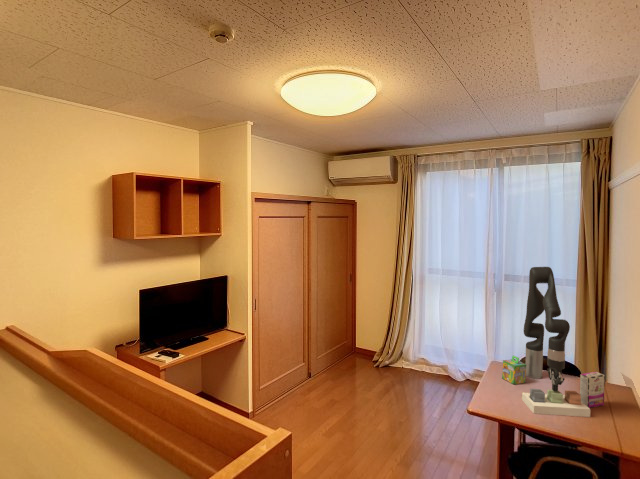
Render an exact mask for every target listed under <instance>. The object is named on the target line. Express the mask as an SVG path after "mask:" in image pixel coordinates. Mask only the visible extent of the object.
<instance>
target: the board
mask: <svg viewBox="0 0 640 479" xmlns="http://www.w3.org/2000/svg"><path fill="white" fill-rule="evenodd" d="M521 400H522V402H523V403H524V404H525V405H526V407H527V408H528V409H529V410H530V411H531V412H532V413H533V414H535V415H550V416H551V415H552V416H565V417H566V416H570V417H582V418H583V417H585V418H591V408H588V407H587V406H586V405H585V404H584V403H582V402H581V405H576V404H569V403H568V402H567V401H565V394H563V404H559V403H551V402H550V401H549V400H548V399H547V393H545V403H542V402H533V401H532V400H531V399H530V392H521Z"/></svg>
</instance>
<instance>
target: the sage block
mask: <svg viewBox="0 0 640 479" xmlns="http://www.w3.org/2000/svg"><path fill="white" fill-rule="evenodd" d="M546 394H547V399H548V400H549V401H550V402H551V403H559V404H563V395H564V394H562V392H561V391H560V390H558V391H557V392H556V391H553V390H552V389H547V390H546Z"/></svg>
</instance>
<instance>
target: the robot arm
mask: <svg viewBox="0 0 640 479" xmlns="http://www.w3.org/2000/svg"><path fill="white" fill-rule="evenodd" d="M528 277H529V278H528V284H529V285H528V292H527V294H528V295H527V300H526V301H527V302H526V311H525V312H526V314H525V320H524V324H523V335H524V336H525V337H526V338H531V339H534V340H531V341H527V342H526V343H525V359H524V360H525V362H524V363H525V364H526V377H528V378H531V379H542V378H543V369H544V368H543V367H544V366H543V363H544V362H543V361H544V339H545V338H544V337H545V329H546V331H547V332H548V333H551V334H557V335H554V336H550V337H549V338H548V346H547V348H548V350H547V360H546V361H547V362H546V363H547V364H546V365H547V366H548V368H547V367H546V368H547V374H548V377H549V380H550V381H551V386H552V387H551V390H553V391H556V392H557V391H559V386H561V385H562V384H563V383H564V382H565V377H563V376H562V375H563V371H562V370H564V369H565V368H566V367H565V365H566V353H565V349H566V340H567V337H568V335H569V333H570V329H571V326H570V323H569V321H568V320H566V319H561V318H558V317H560V316H561V315H562V310H561V307H560V304H559V302H558V297H557V289H556V283H555V276H554V273H553V270H552V268H551V267H550V266H533V267H530V269H529V274H528ZM537 284H547V289H546V291H545V294H544V295H543V293H542V292H541V291H540V290H539V288H538V286H537ZM543 313H544V314H545V319H544V320H545V322H544V324H543V323H538V322H534V321H535V320H536V319H537V318H538V317H540V316H541V315H542V314H543ZM557 318H558V319H557Z"/></svg>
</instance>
